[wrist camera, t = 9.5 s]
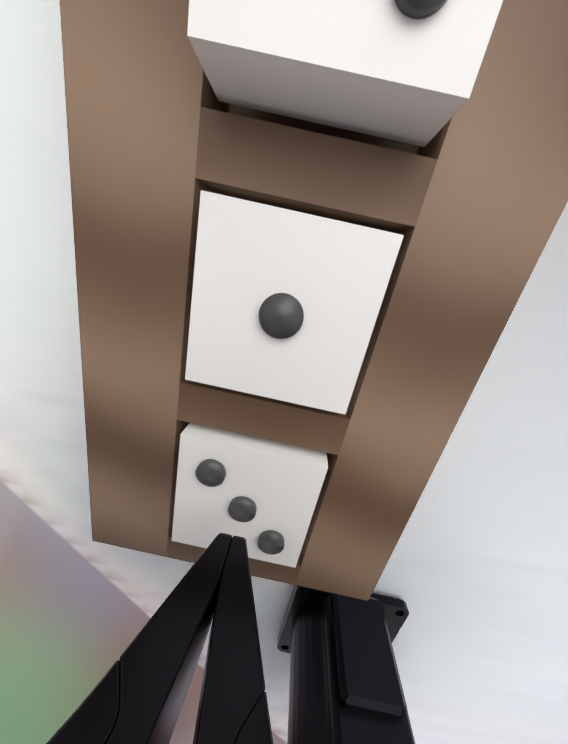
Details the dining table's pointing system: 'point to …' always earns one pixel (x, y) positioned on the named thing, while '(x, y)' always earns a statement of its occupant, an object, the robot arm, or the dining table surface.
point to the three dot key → (246, 492)
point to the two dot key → (346, 59)
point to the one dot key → (284, 301)
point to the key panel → (311, 196)
